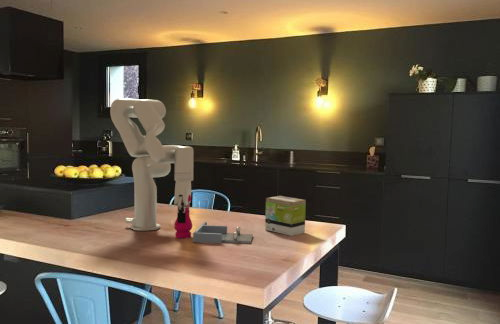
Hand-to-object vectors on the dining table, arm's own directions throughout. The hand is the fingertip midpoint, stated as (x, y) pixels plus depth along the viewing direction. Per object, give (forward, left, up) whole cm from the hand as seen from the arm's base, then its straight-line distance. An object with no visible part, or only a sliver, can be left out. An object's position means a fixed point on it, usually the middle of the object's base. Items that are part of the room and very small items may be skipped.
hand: (183, 220), depth 182 cm
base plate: (+22, -1, -7) cm, 23 cm away
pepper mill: (0, 0, -7) cm, 7 cm away
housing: (+11, +3, -6) cm, 13 cm away
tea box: (+41, +17, -7) cm, 45 cm away
